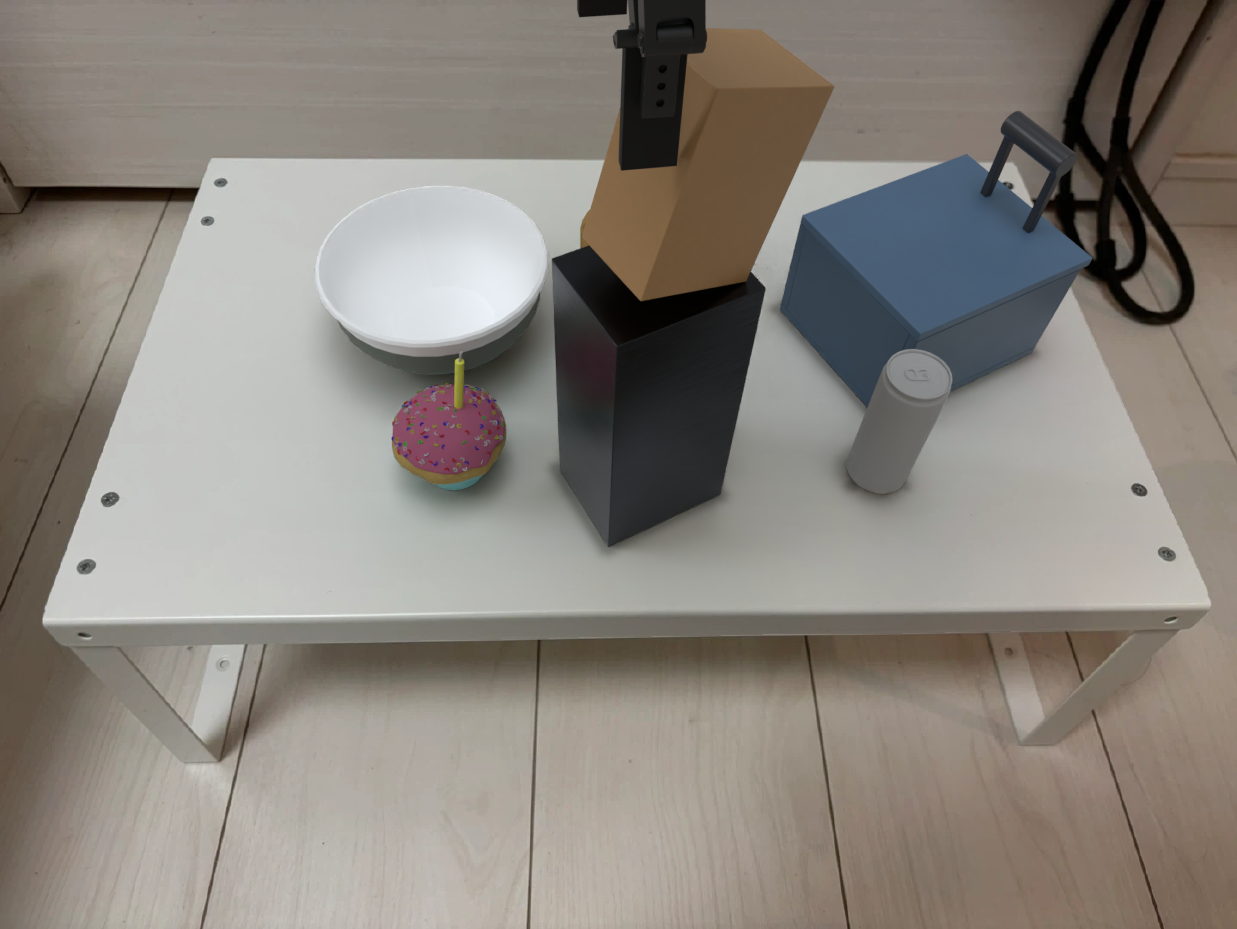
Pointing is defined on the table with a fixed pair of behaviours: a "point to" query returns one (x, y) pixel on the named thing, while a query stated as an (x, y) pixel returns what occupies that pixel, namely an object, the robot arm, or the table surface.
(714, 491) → the stand
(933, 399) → the beverage can
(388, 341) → the bowl
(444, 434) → the cupcake
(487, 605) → the table surface
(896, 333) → the chest
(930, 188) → the lid
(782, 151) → the package
